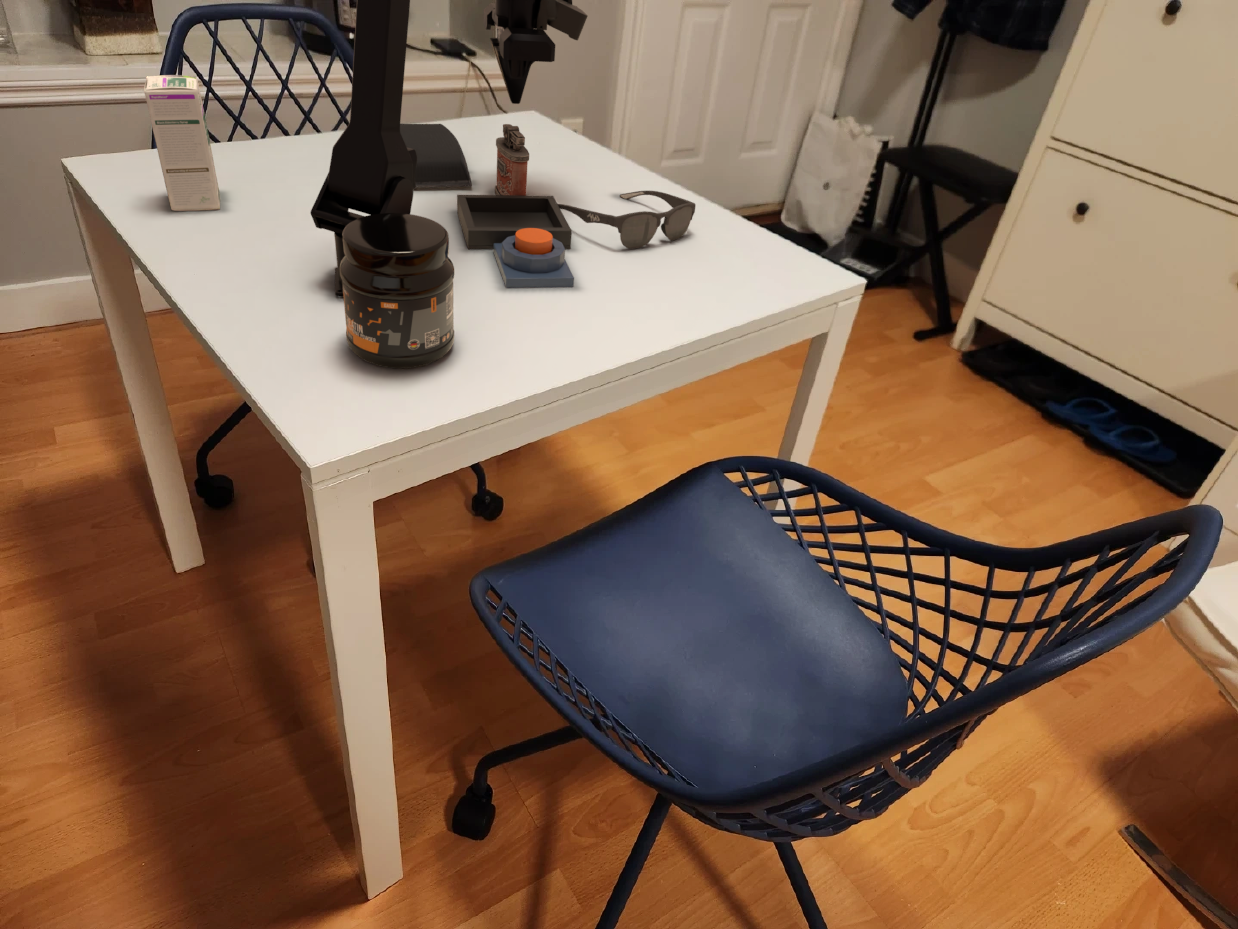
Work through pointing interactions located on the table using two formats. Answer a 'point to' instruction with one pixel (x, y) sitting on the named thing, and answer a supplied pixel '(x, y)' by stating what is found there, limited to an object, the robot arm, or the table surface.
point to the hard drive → (436, 156)
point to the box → (532, 266)
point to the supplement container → (397, 289)
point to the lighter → (511, 162)
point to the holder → (509, 218)
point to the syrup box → (182, 142)
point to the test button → (533, 241)
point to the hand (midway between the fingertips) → (515, 102)
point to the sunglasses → (643, 219)
